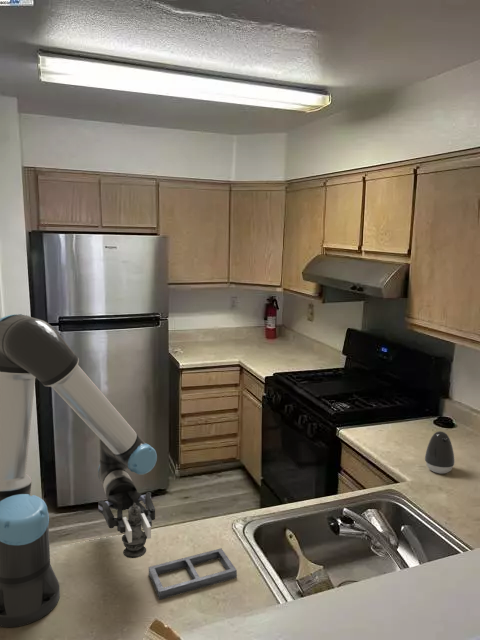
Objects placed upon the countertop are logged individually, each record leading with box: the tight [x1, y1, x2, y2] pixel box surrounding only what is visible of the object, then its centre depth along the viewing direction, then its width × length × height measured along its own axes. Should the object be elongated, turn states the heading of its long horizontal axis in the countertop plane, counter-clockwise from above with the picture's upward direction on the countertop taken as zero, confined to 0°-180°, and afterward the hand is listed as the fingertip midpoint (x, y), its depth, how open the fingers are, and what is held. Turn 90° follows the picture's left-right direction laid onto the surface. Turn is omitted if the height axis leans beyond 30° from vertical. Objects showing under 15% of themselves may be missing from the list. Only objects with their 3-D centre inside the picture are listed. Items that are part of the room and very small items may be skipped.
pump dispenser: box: [424, 430, 456, 474], centre depth 180 cm, size 10×10×15 cm
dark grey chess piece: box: [121, 502, 148, 559], centre depth 112 cm, size 6×6×12 cm
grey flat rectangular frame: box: [148, 547, 238, 601], centre depth 119 cm, size 20×10×2 cm, turn 114°
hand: (139, 534), depth 107 cm, fingers closed on dark grey chess piece, 3 cm apart
